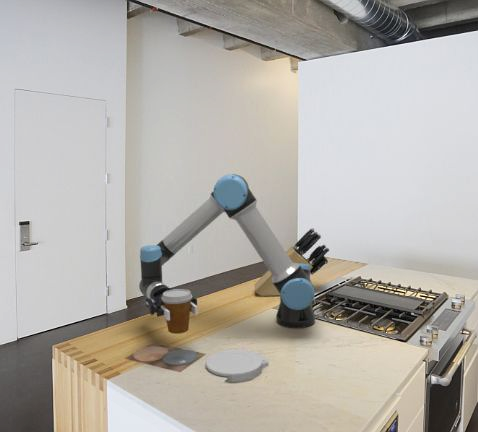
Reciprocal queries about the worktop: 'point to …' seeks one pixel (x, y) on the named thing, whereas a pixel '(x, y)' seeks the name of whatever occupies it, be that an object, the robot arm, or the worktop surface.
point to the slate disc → (179, 357)
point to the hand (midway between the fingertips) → (182, 313)
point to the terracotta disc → (150, 354)
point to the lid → (236, 364)
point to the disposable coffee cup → (177, 309)
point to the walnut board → (161, 363)
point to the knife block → (305, 243)
